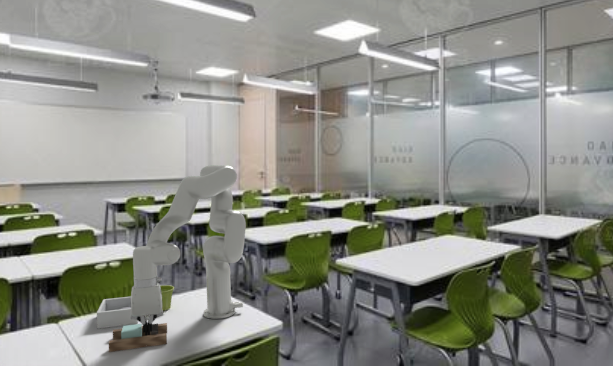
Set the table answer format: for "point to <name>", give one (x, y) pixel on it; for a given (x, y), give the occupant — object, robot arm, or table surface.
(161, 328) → the wooden rail pair
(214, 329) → the table surface
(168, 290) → the plant pot
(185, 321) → the table surface
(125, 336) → the block
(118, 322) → the holder
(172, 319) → the table surface
